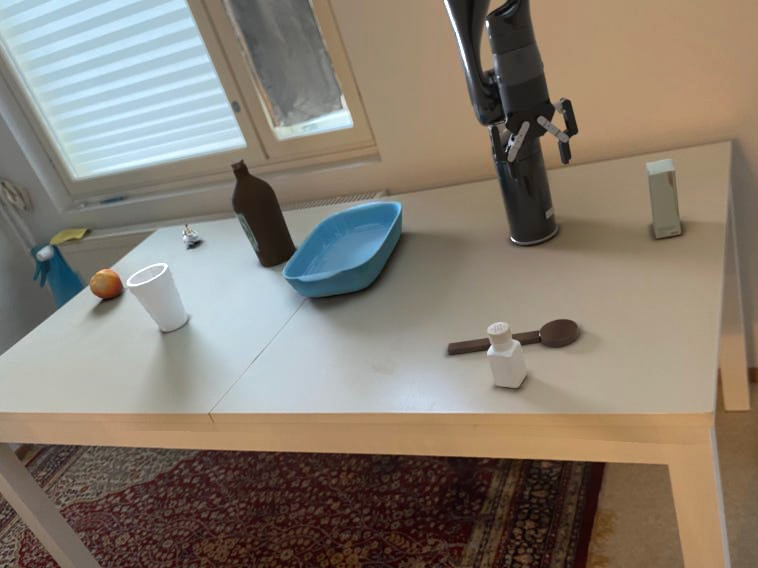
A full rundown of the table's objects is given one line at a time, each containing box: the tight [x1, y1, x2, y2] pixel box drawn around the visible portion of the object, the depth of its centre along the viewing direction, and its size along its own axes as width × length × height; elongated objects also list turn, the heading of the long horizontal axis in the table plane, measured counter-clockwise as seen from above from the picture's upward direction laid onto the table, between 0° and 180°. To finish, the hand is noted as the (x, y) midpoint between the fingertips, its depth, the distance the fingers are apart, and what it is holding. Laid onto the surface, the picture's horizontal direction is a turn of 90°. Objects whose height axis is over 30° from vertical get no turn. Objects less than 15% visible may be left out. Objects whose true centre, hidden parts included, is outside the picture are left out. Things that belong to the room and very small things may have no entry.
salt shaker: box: [486, 321, 528, 389], centre depth 102 cm, size 4×4×10 cm
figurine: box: [182, 223, 199, 246], centre depth 201 cm, size 5×4×6 cm
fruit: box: [89, 268, 125, 300], centre depth 186 cm, size 8×8×8 cm
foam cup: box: [126, 263, 189, 333], centre depth 155 cm, size 10×9×13 cm
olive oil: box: [229, 158, 297, 267], centre depth 167 cm, size 11×11×25 cm
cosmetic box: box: [645, 157, 682, 239], centre depth 124 cm, size 6×4×12 cm
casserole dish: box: [281, 201, 403, 299], centre depth 154 cm, size 37×22×7 cm, turn 166°
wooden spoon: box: [447, 318, 580, 356], centre depth 112 cm, size 21×6×1 cm, turn 79°
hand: (541, 171), depth 120 cm, fingers open, 8 cm apart
